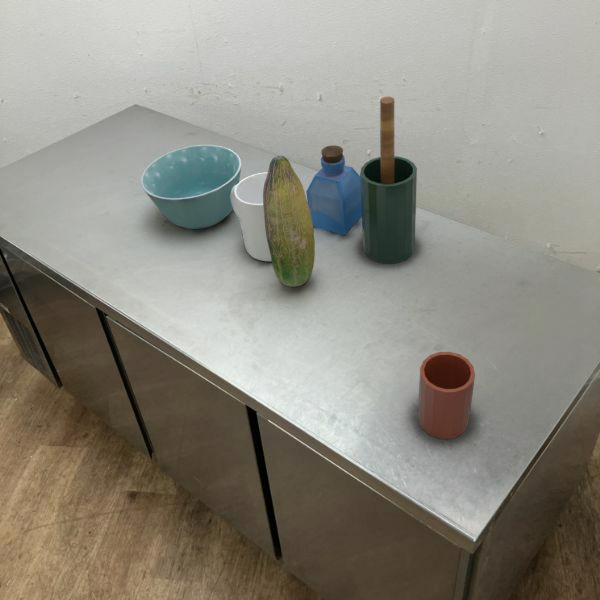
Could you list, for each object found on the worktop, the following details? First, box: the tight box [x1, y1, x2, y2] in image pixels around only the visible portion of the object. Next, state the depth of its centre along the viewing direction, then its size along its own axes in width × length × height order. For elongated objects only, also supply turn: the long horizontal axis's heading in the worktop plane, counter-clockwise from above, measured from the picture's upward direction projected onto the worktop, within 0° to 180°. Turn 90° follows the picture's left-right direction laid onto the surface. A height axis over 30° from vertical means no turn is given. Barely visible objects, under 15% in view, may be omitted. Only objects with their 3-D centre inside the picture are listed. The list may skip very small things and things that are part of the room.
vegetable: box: [263, 155, 316, 288], centre depth 83 cm, size 6×6×20 cm
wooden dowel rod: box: [379, 96, 395, 184], centre depth 86 cm, size 3×3×22 cm
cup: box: [359, 155, 418, 265], centre depth 90 cm, size 7×8×13 cm
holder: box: [417, 351, 476, 440], centre depth 69 cm, size 5×5×8 cm
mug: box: [230, 171, 272, 262], centre depth 95 cm, size 12×8×10 cm
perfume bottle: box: [305, 144, 362, 236], centre depth 97 cm, size 6×6×12 cm
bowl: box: [140, 144, 242, 230], centre depth 103 cm, size 16×16×8 cm
